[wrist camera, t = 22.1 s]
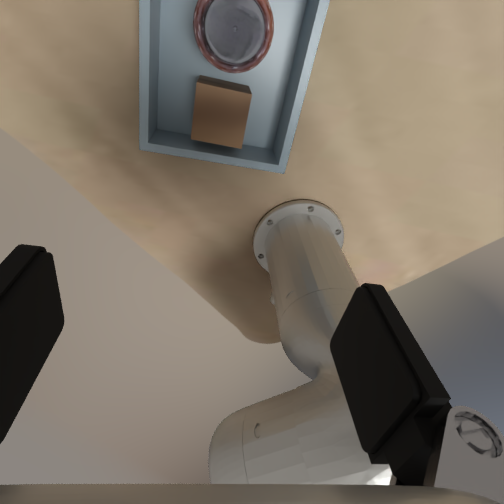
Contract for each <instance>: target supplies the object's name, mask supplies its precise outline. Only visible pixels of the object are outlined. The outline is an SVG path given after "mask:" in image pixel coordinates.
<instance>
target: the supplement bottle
mask: <svg viewBox="0 0 504 504" xmlns="http://www.w3.org/2000/svg"><path fill="white" fill-rule="evenodd" d="M193 27H194V34H195V39H196V42H197V44H198V47H199V49H200V51H201V52H202V54H203V56H204V57H205V58H206V59H207V61H208V62H209V63H211V64H212V65H213V66H214V67H216V68H218V69H219V70H222V71H224V72H227V73H242V72H246V71H249V70H251V69H253V68H254V67H256V66H257V65H258V64H259V63H260V62H261V61H262V60H263V59H264V57H265V56H266V54H267V53H268V51H269V48H270V46H271V43H272V39H273V34H274V19H273V13H272V10H271V7H270V4H269V2H268V0H198V2H197V5H196V8H195V12H194V20H193Z"/></svg>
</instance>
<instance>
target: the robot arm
mask: <svg viewBox="0 0 504 504" xmlns="http://www.w3.org/2000/svg"><path fill="white" fill-rule="evenodd" d="M309 206H311V207H309ZM268 220H270V221H268ZM343 242H344V231H343V227H342V224H341V222H340V220H339V218H338V217H337V215H336V214H335V213H334V212H333V211H332V210H331V209H330V208H328V207H327V206H325V205H323V204H321V203H319V202H315V201H310V200H297V201H290V202H287V203H284V204H281V205H280V206H278V207H276V208H274V209H273V210H271V211H270V212H269V213H267V214H266V215H265V216H264V217H263V219H262V220H261V221H260V222H259V224H258V226H257V227H256V230H255V233H254V237H253V249H254V254H255V257H256V259H257V261H258V263H259V264H260V265H261V266H262V268H264V269H265V270H266V271H267V272H269V275H270V281H271V287H272V294H271V297H270V302H271V303H272V304H274V305H275V309H276V315H277V321H278V327H279V333H280V338H281V343H282V346H283V349H284V351H285V353H286V355H287V356H288V358H289V359H290V361H291V362H292V363H293V364H294V365H295V366H296V367H297V368H298V369H299V370H300V371H301V372H303V373H304V374H305V375H307V376H308V377H309V378H311V379H312V381H311V382H309V383H306V384H304V385H301V386H299V387H297V388H296V389H293V390H291V391H288V392H285V393H282V394H279V395H277V396H274V397H272V398H269V399H266V400H263V401H260V402H258V403H255V404H253V405H250V406H248V407H245V408H243V409H240V410H238V411H236V412H234V413H232V414H231V415H229V416H228V417H226V418H225V419H224V420H223V421H222V422H221V423H220V424H219V426H218V427H217V428H216V430H215V432H214V434H213V436H212V439H211V443H210V447H209V459H208V464H209V465H208V467H209V477H210V483H211V484H23V485H0V504H504V436H503V435H502V433H501V432H500V431H499V429H498V428H497V427H496V426H495V425H494V424H493V423H492V422H491V421H490V420H489V419H488V418H487V417H485V416H484V415H483V414H481V413H480V412H478V411H475V410H474V409H472V408H469V407H465V406H455V407H453V408H452V407H451V405H450V403H449V400H450V399H451V398H450V396H449V394H448V393H447V391H446V390H445V388H444V386H443V385H442V383H441V381H440V380H439V378H438V376H437V375H436V373H435V371H434V370H433V368H432V367H431V365H430V363H429V361H428V360H427V358H426V356H425V355H424V353H423V351H422V350H421V348H420V346H419V345H418V343H417V341H416V340H415V338H414V336H413V335H412V333H411V332H410V330H409V328H408V326H407V325H406V323H405V321H404V320H403V318H402V316H401V315H400V313H399V311H398V310H397V308H396V306H395V305H394V303H393V302H392V300H391V298H390V296H389V295H388V293H387V291H386V290H385V288H384V287H383V286H382V285H377V284H368V283H364V284H362V285H361V287H360V285H359V283H358V281H357V279H356V277H355V275H354V273H353V271H352V269H351V267H350V265H349V263H348V261H347V260H346V258H345V256H344V254H343V252H342V250H341V249H342V246H343ZM63 326H64V314H63V309H62V303H61V298H60V292H59V287H58V282H57V276H56V270H55V265H54V260H53V255H52V254H51V253H49V252H47V251H46V249H45V248H44V247H41V246H32V245H24V244H21V245H18V246H17V247H16V248H15V249H14V250H13V251H12V252H11V253H10V254H9V255H8V256H7V257H6V258H5V260H4V261H3V262H2V263H1V264H0V444H1V442H2V441H3V440H4V438H5V436H6V434H7V432H8V431H9V429H10V427H11V425H12V423H13V421H14V419H15V417H16V416H17V414H18V412H19V410H20V408H21V406H22V404H23V403H24V401H25V399H26V397H27V395H28V393H29V391H30V389H31V387H32V386H33V384H34V382H35V380H36V378H37V376H38V374H39V372H40V370H41V369H42V367H43V365H44V363H45V361H46V359H47V357H48V356H49V353H50V352H51V350H52V348H53V346H54V344H55V342H56V340H57V338H58V337H59V335H60V333H61V331H62V329H63Z"/></svg>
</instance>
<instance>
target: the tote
mask: <svg viewBox="0 0 504 504" xmlns="http://www.w3.org/2000/svg"><path fill="white" fill-rule="evenodd" d="M197 2H198V0H139V150H144V151H150V152H156V153H162V154H168V155H174V156H180V157H186V158H192V159H198V160H204V161H210V162H216V163H222V164H228V165H234V166H240V167H246V168H252V169H258V170H264V171H270V172H276V173H282V174H284V173H285V169H286V165H287V161H288V158H289V154H290V150H291V146H292V142H293V139H294V135H295V131H296V127H297V123H298V120H299V116H300V112H301V108H302V104H303V101H304V97H305V93H306V89H307V85H308V82H309V78H310V74H311V70H312V66H313V63H314V59H315V55H316V51H317V47H318V44H319V40H320V36H321V32H322V28H323V25H324V21H325V17H326V13H327V9H328V6H329V2H330V0H268V2H269V4H270V7H271V10H272V13H273V19H274V34H273V39H272V43H271V46H270V48H269V51H268V53H267V54H266V56H265V57H264V59H263V60H262V61H261V62H260V63H259V64H258V65H257V66H256V67H254V68H253V69H251V70H249V71H246V72H242V73H227V72H224V71H222V70H219V69H218V68H216V67H214V66H213V65H212V64H211V63H209V62H208V61H207V59H206V58H205V57H204V56H203V54H202V52H201V51H200V49H199V47H198V44H197V42H196V39H195V34H194V27H193V20H194V12H195V8H196V5H197ZM200 75H203V76H208V77H212V78H216V79H221V80H225V81H229V82H234V83H238V84H243V85H247V86H249V88H250V90H251V93H252V98H251V103H250V108H249V113H248V119H247V124H246V129H245V134H244V139H243V144H242V149H239V148H234V147H229V146H224V145H218V144H213V143H208V142H203V141H198V140H192V139H191V130H192V121H193V111H194V102H195V92H196V83H197V80H198V78H199V76H200Z"/></svg>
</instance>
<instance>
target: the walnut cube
mask: <svg viewBox="0 0 504 504" xmlns="http://www.w3.org/2000/svg"><path fill="white" fill-rule="evenodd" d="M251 98H252V93H251V90H250V88H249V86H247V85H243V84H238V83H234V82H229V81H225V80H221V79H216V78H212V77H208V76H203V75H200V76H199V78H198V80H197V83H196V92H195V102H194V111H193V121H192V130H191V139H192V140H198V141H203V142H208V143H213V144H218V145H224V146H229V147H234V148H239V149H242V144H243V139H244V134H245V129H246V124H247V119H248V113H249V108H250V103H251Z"/></svg>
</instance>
